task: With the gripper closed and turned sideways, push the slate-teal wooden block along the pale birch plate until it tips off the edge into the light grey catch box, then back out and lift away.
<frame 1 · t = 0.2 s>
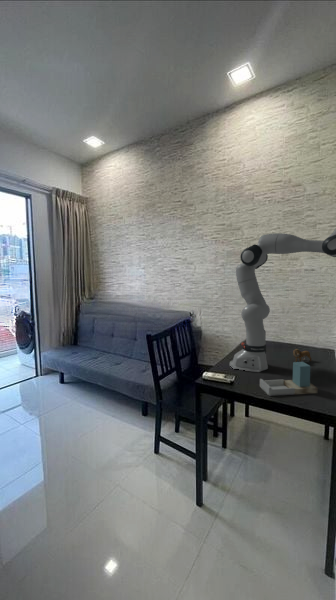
lion figurine: (302, 362, 160), on the table
teal block: (300, 383, 123), point 2 cm above the table, touching birch plate
catch box: (276, 390, 122), on the table
birch plate: (299, 388, 123), on the table
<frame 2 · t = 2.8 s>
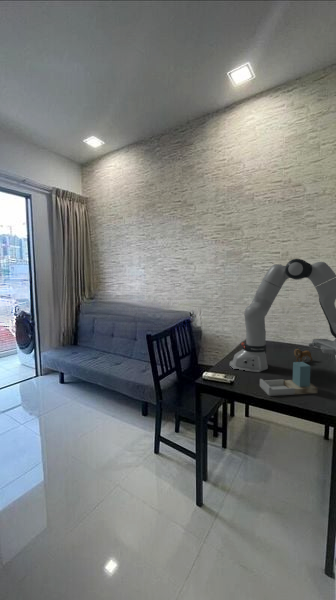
hand: (315, 348, 121), 20 cm above the table, tool horizontal, fingers open, 8 cm apart
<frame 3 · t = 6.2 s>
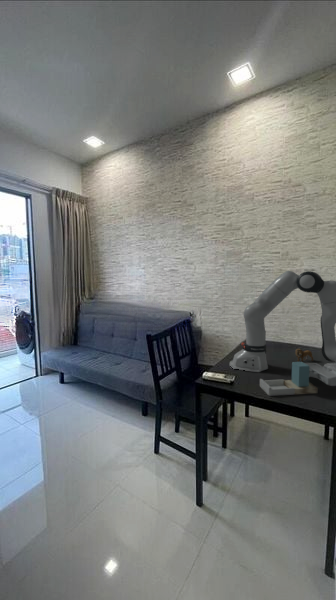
hand: (305, 373, 122), 7 cm above the table, tool horizontal, fingers closed, pressing on teal block
teal block: (299, 383, 123), point 3 cm above the table, touching gripper
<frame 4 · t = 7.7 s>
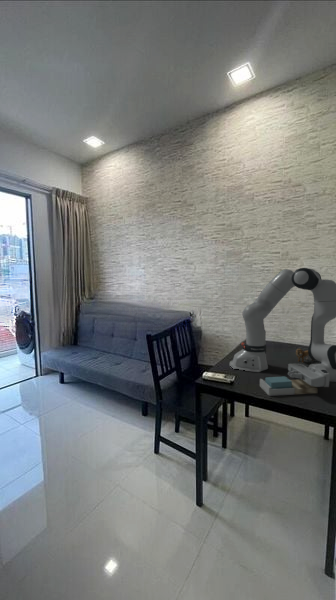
hand: (289, 374, 122), 7 cm above the table, tool horizontal, fingers closed
teal block: (288, 383, 122), point 3 cm above the table, tilted 90°, touching catch box
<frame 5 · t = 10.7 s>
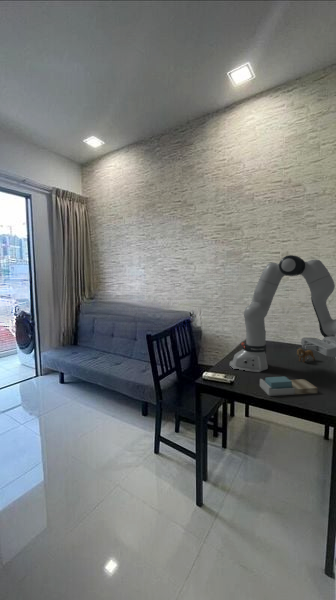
hand: (303, 346, 121), 21 cm above the table, tool horizontal, fingers closed
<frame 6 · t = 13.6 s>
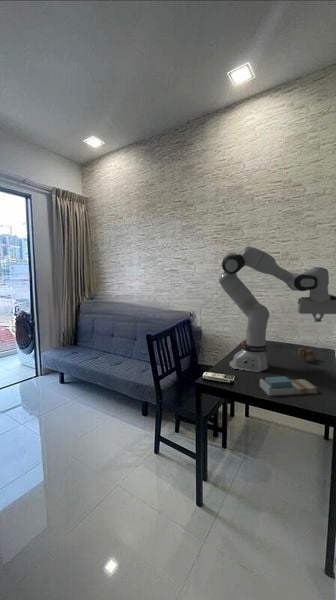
hand: (317, 321, 140), 29 cm above the table, tool pointing down, fingers closed
at the end: teal block touching catch box; teal block 5.8 cm from the catch box (horizontally) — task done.
